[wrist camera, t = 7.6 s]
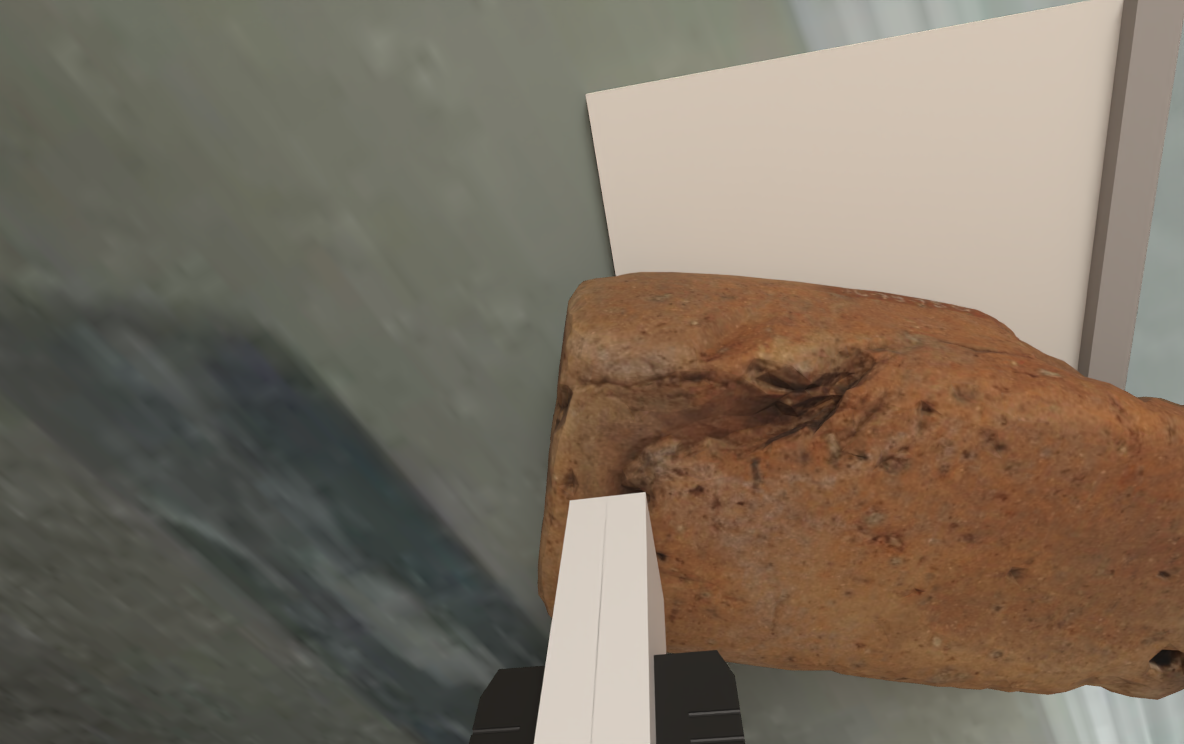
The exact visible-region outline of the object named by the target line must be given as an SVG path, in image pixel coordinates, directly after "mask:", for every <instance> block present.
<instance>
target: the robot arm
mask: <svg viewBox="0 0 1184 744" xmlns="http://www.w3.org/2000/svg"><path fill="white" fill-rule="evenodd" d="M469 744H745V740H744V733H743V726H742V720H741V714H740V707H739V701H738V694H737V688H736V681H735V676H734V674H733V673H732V671H731V670H730V668H729V667H728V665H727V664H726V662H725V661H724V659H723V658H722V656H721V655H720V654H719V652H718V651H717V650H710V651H697V652H685V653H673V654H666V636H665V615H664V598H663V592H662V586H661V580H660V574H659V569H658V563H657V557H656V551H655V545H654V539H653V533H652V527H651V522H650V516H649V510H648V504H647V498H646V492H642V493H633V494H624V495H615V496H606V497H597V498H588V499H579V500H570V503H569V510H568V517H567V523H566V530H565V537H564V543H563V550H562V557H561V564H560V570H559V577H558V584H557V591H556V597H555V604H554V611H553V618H552V624H551V631H550V638H549V645H548V651H547V658H546V665H545V666H535V667H523V668H510V669H499V670H498V672H497V673H496V675H495V676H494V678H493V679H492V681H491V682H490V684H489V685H488V687H487V688H486V690H485V691H484V692H483V694H482V695H481V697H480V700H479V704H478V709H477V713H476V717H475V721H474V725H473V735H471V738H470V742H469Z"/></svg>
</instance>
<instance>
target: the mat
mask: <svg viewBox="0 0 1184 744" xmlns="http://www.w3.org/2000/svg"><path fill="white" fill-rule="evenodd" d="M1183 19H1184V0H1088V1H1083V2H1078V3H1072V4H1067V5H1062V6H1056V7H1051V8H1045V9H1040V10H1035V11H1029V12H1024V13H1018V14H1013V15H1008V16H1002V17H997V18H991V19H986V20H981V21H975V22H970V23H965V24H959V25H954V26H948V27H943V28H938V29H932V30H927V31H921V32H916V33H911V34H905V35H900V36H895V37H889V38H884V39H878V40H873V41H868V42H862V43H857V44H851V45H846V46H841V47H835V48H830V49H824V50H819V51H814V52H808V53H803V54H798V55H792V56H787V57H781V58H776V59H771V60H765V61H760V62H754V63H749V64H744V65H738V66H733V67H728V68H722V69H717V70H711V71H706V72H701V73H695V74H690V75H684V76H679V77H674V78H668V79H663V80H657V81H652V82H647V83H641V84H636V85H631V86H625V87H620V88H614V89H609V90H604V91H598V92H593V93H587V94H586V100H587V106H588V112H589V118H590V124H591V130H592V136H593V142H594V148H595V154H596V160H597V166H598V172H599V178H600V184H601V190H602V196H603V202H604V208H605V214H606V220H607V226H608V232H609V238H610V244H611V250H612V256H613V262H614V268H615V274H616V276H619V275H623V274H628V273H636V272H683V273H702V274H720V275H736V276H746V277H755V278H765V279H776V280H786V281H797V282H804V283H812V284H820V285H828V286H835V287H843V288H850V289H860V290H870V291H879V292H885V293H891V294H897V295H903V296H909V297H916V298H921V299H927V300H932V301H937V302H943V303H948V304H953V305H957V306H962V307H966V308H971V309H976V310H979V311H981V312H983V313H985V314H988V315H990V316H992V317H994V318H996V319H997V320H998V321H999V322H1002V323H1004V324H1005V325H1006V326H1007V327H1008V328H1010V329H1011V330H1012V331H1013V332H1014V334H1015V335H1016V337H1018V338H1019V340H1021V341H1024V342H1026V343H1028V344H1029V345H1031V346H1033V347H1034V348H1036V349H1038V350H1040V351H1041V352H1043V353H1045V354H1047V355H1049V356H1052V357H1055V358H1057V359H1060V360H1063V361H1065V362H1066V363H1067V364H1069V365H1070V366H1072V367H1073V368H1074V369H1076V370H1077V371H1078V372H1079V373H1081V374H1082V375H1083V376H1084V377H1088V378H1092V379H1096V380H1100V381H1103V382H1107V383H1110V384H1112V385H1114V386H1116V387H1118V388H1120V389H1122V390H1124V391H1125V385H1126V379H1127V372H1128V366H1129V360H1130V353H1131V347H1132V341H1133V335H1134V328H1135V322H1136V316H1137V309H1138V303H1139V297H1140V290H1141V284H1142V278H1143V271H1144V265H1145V259H1146V252H1147V246H1148V240H1149V234H1150V227H1151V221H1152V215H1153V208H1154V202H1155V196H1156V189H1157V183H1158V177H1159V170H1160V164H1161V158H1162V151H1163V145H1164V139H1165V133H1166V126H1167V120H1168V114H1169V107H1170V101H1171V95H1172V88H1173V82H1174V76H1175V69H1176V63H1177V57H1178V50H1179V44H1180V38H1181V32H1182V25H1183Z"/></svg>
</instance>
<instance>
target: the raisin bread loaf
mask: <svg viewBox="0 0 1184 744" xmlns="http://www.w3.org/2000/svg"><path fill="white" fill-rule="evenodd" d="M550 440H551V443H550V448H549V459H548V473H547V485H546V497H545V509H544V518H543V523H542V531H541V540H540V550H539V560H538V594H539V596H540V597H541V599H542V600H543V602H544V603H545V606H546V609H547V612H548V614H549V615H550V616H551V617H552V618H553V611H554V604H555V597H556V591H557V584H558V577H559V570H560V564H561V557H562V550H563V543H564V537H565V530H566V523H567V517H568V510H569V503H570V500H579V499H588V498H597V497H606V496H615V495H624V494H633V493H642V492H646V498H647V504H648V510H649V516H650V522H651V527H652V533H653V539H654V545H655V551H656V557H657V563H658V569H659V574H660V580H661V586H662V592H663V598H664V615H665V636H666V652H669V653H685V652H697V651H710V650H717V651H718V652H719V654H720V655H721V656H722V658H723V659H724V661H727V662H734V663H741V664H748V665H754V666H762V667H770V668H778V669H785V670H832V671H834V672H837V673H841V674H846V675H853V676H860V677H867V678H875V679H883V680H889V681H897V682H908V683H918V684H925V685H931V686H937V687H956V688H964V689H979V690H981V689H985V688H989V689H994V690H1000V691H1005V692H1015V691H1020V692H1027V693H1037V694H1047V695H1049V694H1055V693H1061V692H1067V691H1070V690H1073V689H1075V688H1078V687H1081V686H1084V685H1092V686H1101V687H1103V688H1105V689H1107V690H1109V691H1111V692H1115V693H1118V694H1122V695H1126V696H1130V697H1138V698H1147V699H1156V700H1158V699H1161V698H1163V697H1166V696H1168V695H1171V694H1173V693H1176V692H1178V691H1180V690H1183V689H1184V405H1179V404H1176V403H1173V402H1170V401H1168V400H1165V399H1162V398H1153V397H1135V396H1133V395H1132V394H1130V393H1128V392H1126V391H1124V390H1122V389H1120V388H1118V387H1116V386H1114V385H1112V384H1110V383H1107V382H1103V381H1100V380H1096V379H1092V378H1088V377H1084V376H1083V375H1082V374H1081V373H1079V372H1078V371H1077V370H1076V369H1074V368H1073V367H1072V366H1070V365H1069V364H1067V363H1066V362H1065V361H1063V360H1060V359H1057V358H1055V357H1052V356H1049V355H1047V354H1045V353H1043V352H1041V351H1040V350H1038V349H1036V348H1034V347H1033V346H1031V345H1029V344H1028V343H1026V342H1024V341H1021V340H1019V338H1018V337H1016V335H1015V334H1014V332H1013V331H1012V330H1011V329H1010V328H1008V327H1007V326H1006V325H1005V324H1004V323H1002V322H999V321H998V320H997V319H996V318H994V317H992V316H990V315H988V314H985V313H983V312H981V311H979V310H976V309H971V308H966V307H962V306H957V305H953V304H948V303H943V302H937V301H932V300H927V299H921V298H916V297H909V296H903V295H897V294H891V293H885V292H879V291H870V290H860V289H850V288H843V287H835V286H828V285H820V284H812V283H804V282H797V281H786V280H776V279H765V278H755V277H746V276H736V275H720V274H702V273H683V272H636V273H628V274H623V275H619V276H615V277H606V278H596V279H591V280H587V281H583V282H582V283H581V284H580V285H579V286H578V288H577V289H576V290H575V292H574V293H573V295H572V296H571V298H570V300H569V302H568V308H567V315H566V322H565V329H564V337H563V345H562V353H561V359H560V366H559V376H558V387H557V401H556V407H555V412H554V415H553V422H552V430H551V437H550Z"/></svg>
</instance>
